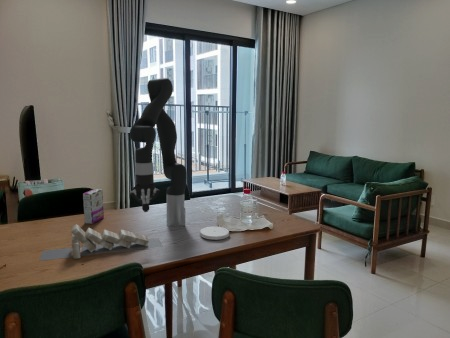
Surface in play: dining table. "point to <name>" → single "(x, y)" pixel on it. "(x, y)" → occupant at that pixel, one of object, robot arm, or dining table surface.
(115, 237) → the ivory domino
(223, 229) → the plastic lid
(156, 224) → the dining table surface
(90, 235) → the ivory domino
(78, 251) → the domino
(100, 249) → the domino board
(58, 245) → the dining table surface
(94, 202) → the candy bar box
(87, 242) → the ivory domino
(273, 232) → the dining table surface
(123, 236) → the ivory domino
